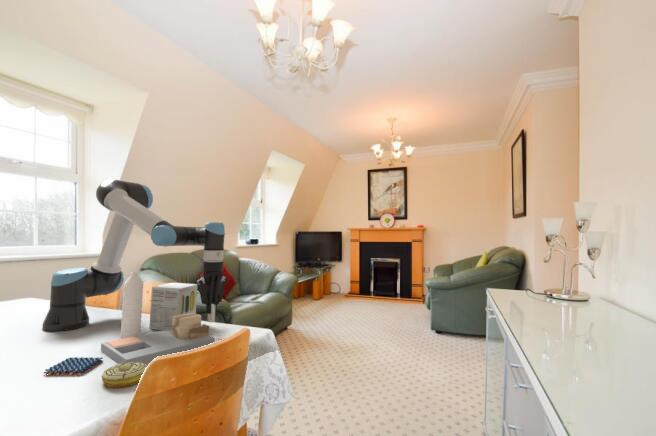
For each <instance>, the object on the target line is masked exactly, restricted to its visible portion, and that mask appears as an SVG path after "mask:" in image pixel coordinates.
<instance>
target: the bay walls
mask: <svg viewBox="0 0 656 436" xmlns="http://www.w3.org/2000/svg"><path fill="white" fill-rule="evenodd" d="M208 335H209V336H210V325H208V324H206V323H204V324H201V327H197V328H192V329H190V333H189V339H190V340H191V339H195V338H200V337H204V336H208Z"/></svg>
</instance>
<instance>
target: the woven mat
mask: <svg viewBox="0 0 656 436" xmlns="http://www.w3.org/2000/svg"><path fill="white" fill-rule="evenodd" d="M103 359H104V357H97V356H96V357H83V356H81V357H78V356H77V357H68V358H65V360H62V361H61V362H58V363H57V364H54V365H52V366H50V367H49V368H48V369H47V368H46V369H45V371H44V372H43V374H44V375H43V377H46V376H48V375H50V376H52V377H54V375H55V376H57V377H58V375H59V376H70V375H71V376H73V377H75V376H77V375H78V376H82V375H83V374H86V373H87V372H88V371H90V370H92V369H94V367H96V366H98V365H99V364H101V363H103V362H104V360H103ZM47 374H48V375H47ZM60 374H61V375H60ZM64 374H65V375H64ZM45 375H46V376H45Z"/></svg>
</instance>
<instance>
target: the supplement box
mask: <svg viewBox="0 0 656 436" xmlns="http://www.w3.org/2000/svg"><path fill="white" fill-rule="evenodd" d="M150 297H151V298H150V310H149V311H150V314H149V326H148V329H150V330H157V331H163V330H168V329H172V316H177V315H183V314H189V313H195V314H197V298H198V284H197V283H196V284H195V283H185V282H170V283H164V284H159V285H155V286H152V287H151V295H150Z"/></svg>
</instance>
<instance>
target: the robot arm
mask: <svg viewBox="0 0 656 436" xmlns="http://www.w3.org/2000/svg"><path fill="white" fill-rule="evenodd" d="M95 196H96V200H97V201H98V203H99V204H100V205H101V206H102V207H103V208H105V209H106V210H108V211H111V212H114V214H113V217H112V220H111V223H110V225H109V228H108V231H107V234H106V237H105V240H104V242H103V245H102V248H101V251H100V254H99V256H98V259H97V261H94V262H93V263H92V264H91V267H90V269H89V270H88V268H86V267H74V268H73V267H72V268H71V267H70V268H65V269H61V270H58V271H56V272H54V273H53V274H52V276H51V277H52V278H51V280H50V281H51V282H50V301H49V309H48V312H47V314H46V316H45V318H44V320H43V322H42V326H41V327H42V330H43V331H47V332H61V331H71V330H75V329H80V328H83V327H86V326H88V325H89V324H90V316H89V313H88V311H87V308H86V307H87V306H86V299H87V298H92V297H97V296H106V295H107V296H108V295H110V294H113V293H116V292H117V291H119V290H120V289H121V288H122V286H123V285H124V281H125V280H124V279H125V278H124V273H123V271H122V270H123V269H122V267H121V266H120V264H121V262H122V258H123V256H124V254H125V250H126V248H127V245H128V242H129V239H130V237H131V234H132V231H133V229H134V225H135V226H136V227H137V228H139V229H140V230H142V231H144V232H145V233H147V234H148V235H149V236H150V240H151V241H152V243H153V244H154V245H155V246H157V247H165V248H167V247H178V246H179V247H184V246H185V247H187V246H192V247H193V246H196V247H197V246H202V247H203V259H202V260H203V262H202V263H203V264H202V268H203V269H202V271H203V273H202V275H201V278H199V279H197V280H196V284H197V287H198V290H199V296H200V300H201V304H203V305H205V306H206V307H205V313H206V314H207V322H208V323H215V321H216V320H215V319H216V313H217V311H218V309H217V308H218V305H219V304H220V303H221V302H222V301H223V298H224V293H225V288H226V285H227V282H228V280H229V278H228V277H226V276H224V271H223V270H224V261H223V260H224V257H225V256H224V255H225V254H224V253H225V251H224V250H225V249H224V248H225V234H226V233H225V224H224V223H223V222H214V221H213V222H211V221H209V222H207V221H206V222H205V224H204V227H202V226H201V227H200V226H183V225H182V226H178V225H173V224H171V223H170V222H168V221H167V220H165V219H164V218H162V217H161V216H159V215H158V214H156V213H155V212H153V211H152V210H150V208H151V207H152V205H153V201H154V198H153V197H154V196H153V193H152V191H151V189H150V188H149V187H148V186H147V185H144V184H141V183H138V182H132V181H131V182H129V181H124V180H120V179H107V180H105V181H103V182H102V183H100V184H99V185H98V186H97V188H96V191H95Z"/></svg>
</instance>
